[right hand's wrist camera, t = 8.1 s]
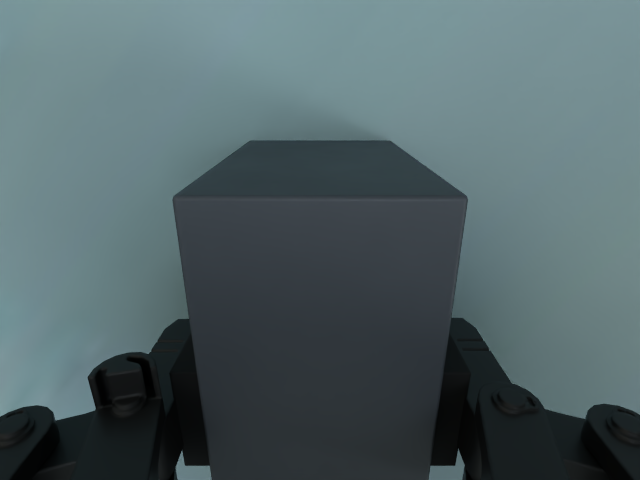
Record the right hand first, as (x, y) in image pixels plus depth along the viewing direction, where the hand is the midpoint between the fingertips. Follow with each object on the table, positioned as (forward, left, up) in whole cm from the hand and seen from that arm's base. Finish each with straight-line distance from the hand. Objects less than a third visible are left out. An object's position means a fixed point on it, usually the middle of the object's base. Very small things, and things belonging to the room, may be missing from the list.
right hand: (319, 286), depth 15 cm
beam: (+30, +6, -1) cm, 30 cm away
